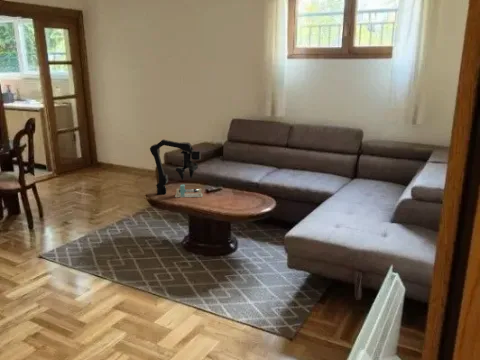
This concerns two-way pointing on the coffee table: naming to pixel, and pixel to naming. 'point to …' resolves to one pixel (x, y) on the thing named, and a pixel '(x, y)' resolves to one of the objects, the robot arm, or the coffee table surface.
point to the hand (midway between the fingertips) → (186, 178)
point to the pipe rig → (189, 193)
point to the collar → (182, 189)
